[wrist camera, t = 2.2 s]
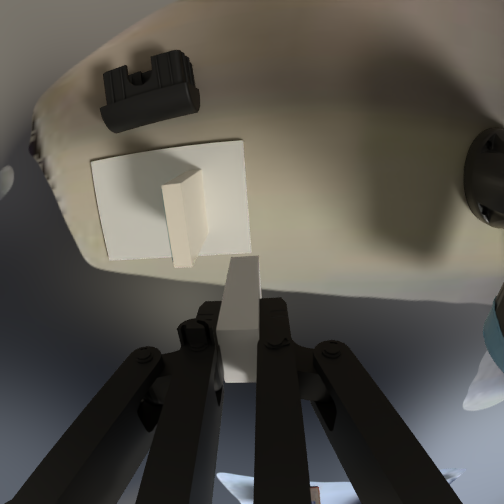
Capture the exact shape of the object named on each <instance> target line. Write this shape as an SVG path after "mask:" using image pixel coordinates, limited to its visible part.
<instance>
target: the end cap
mask: <svg viewBox="0 0 504 504" xmlns="http://www.w3.org/2000/svg"><path fill="white" fill-rule="evenodd" d="M151 64H152V70H151V71H147V72H144V73H142V72H141V71H140V72H137V73H133V74H130V75H128V69H127V65H124V66H121V67H119V68H116V69H113V70H110V71H108V72H105V73H104V74H103V78H104V86H105V94H106V101H107V106H104V107H101V108H100V111H101V115H102V118H103V121H104V123H105V124H106V126H107V127H108V129H109V130H110V131H112V132H114V133H120V132H123V131H126V130H130V129H133V128H137V127H140V126H144V125H147V124H151V123H155V122H159V121H163V120H167V119H171V118H175V117H179V116H184V115H188V114H193V113H197V112H198V111H199V108H200V95H199V89H198V88H196V87H195V81H194V75H193V68H192V64H191V63H190V60H189V58H188V57H187V56H185V55H184V53H183V52H181V51H180V50H173V51H169V52H166V53H162V54H159V55H155V56H152V57H151Z"/></svg>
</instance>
